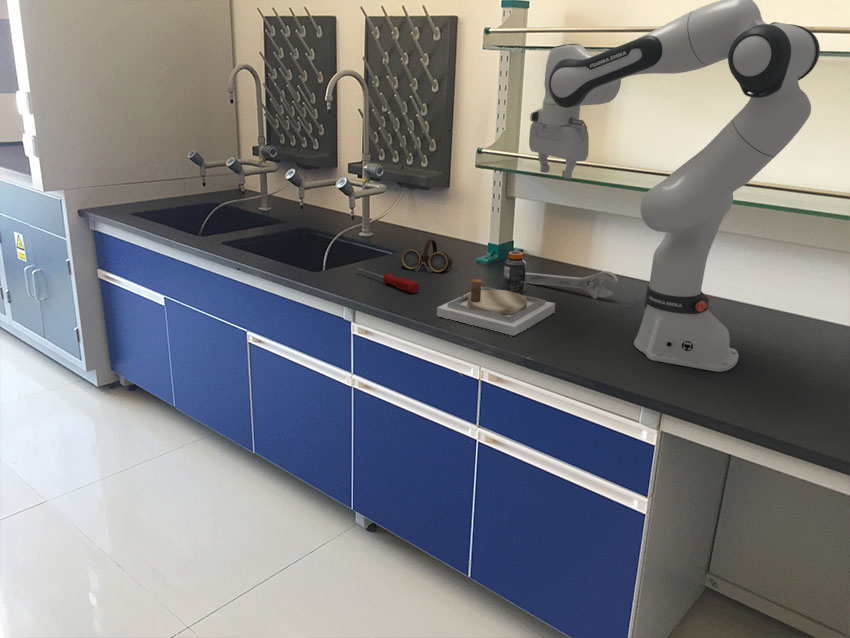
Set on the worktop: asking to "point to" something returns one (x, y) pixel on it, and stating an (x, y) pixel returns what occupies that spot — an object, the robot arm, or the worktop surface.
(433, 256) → the goggles
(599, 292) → the wrench
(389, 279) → the screwdriver
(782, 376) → the worktop surface
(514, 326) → the control plate
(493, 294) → the dial
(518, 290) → the pill bottle
